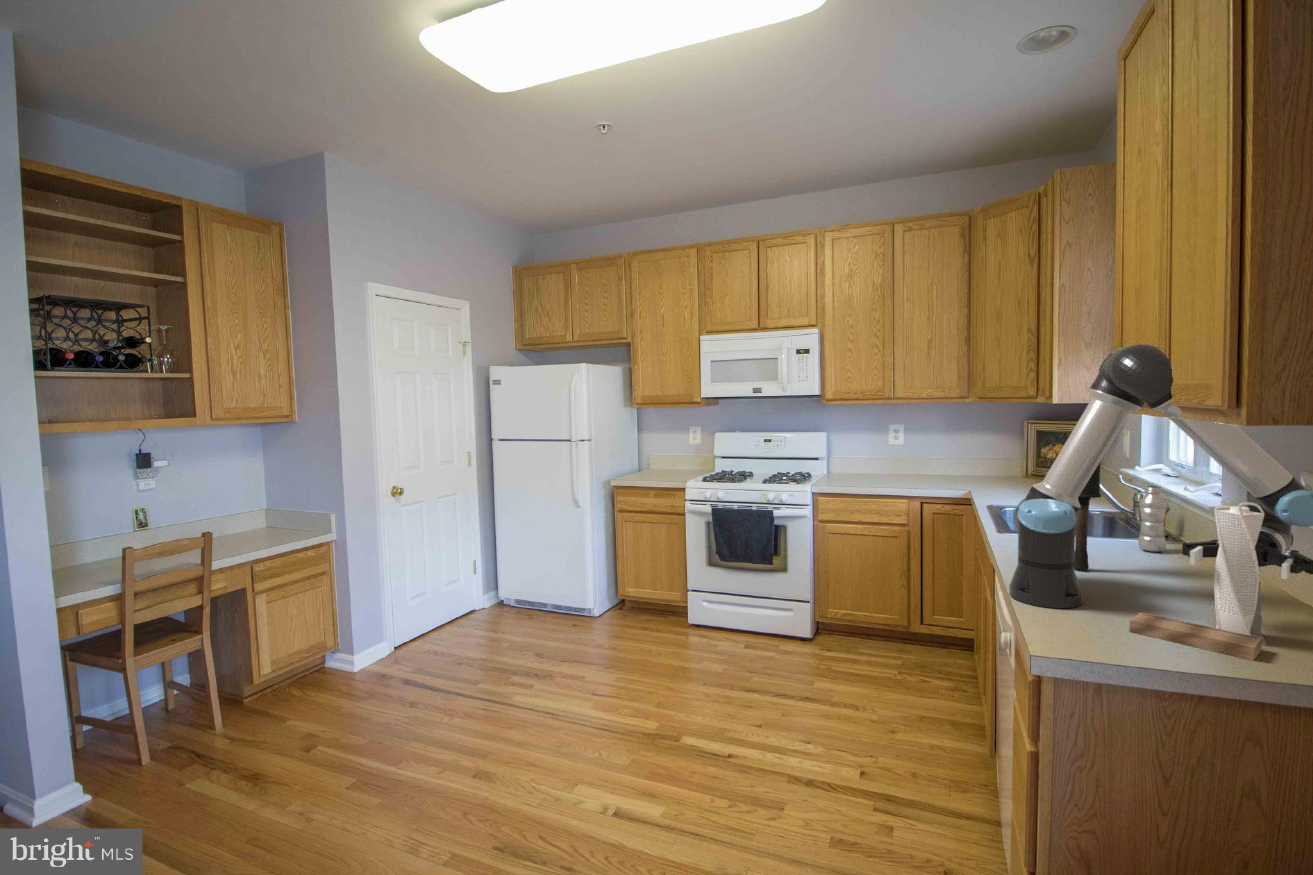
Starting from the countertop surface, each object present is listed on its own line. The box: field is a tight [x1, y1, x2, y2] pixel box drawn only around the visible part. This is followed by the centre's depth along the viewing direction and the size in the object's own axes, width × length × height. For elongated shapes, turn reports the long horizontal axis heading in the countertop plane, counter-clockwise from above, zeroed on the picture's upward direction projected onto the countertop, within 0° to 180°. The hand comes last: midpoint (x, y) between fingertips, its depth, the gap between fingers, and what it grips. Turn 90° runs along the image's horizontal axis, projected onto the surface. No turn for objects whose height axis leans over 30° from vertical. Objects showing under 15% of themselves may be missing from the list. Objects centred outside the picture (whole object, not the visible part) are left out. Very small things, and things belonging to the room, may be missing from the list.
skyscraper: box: [1213, 501, 1267, 646], centre depth 126 cm, size 8×8×28 cm
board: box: [1128, 611, 1262, 661], centre depth 126 cm, size 19×7×3 cm, turn 38°
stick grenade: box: [1074, 463, 1102, 572], centre depth 174 cm, size 8×9×30 cm
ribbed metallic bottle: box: [1137, 485, 1168, 553], centre depth 192 cm, size 6×7×20 cm
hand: (1236, 564), depth 125 cm, fingers open, 13 cm apart
